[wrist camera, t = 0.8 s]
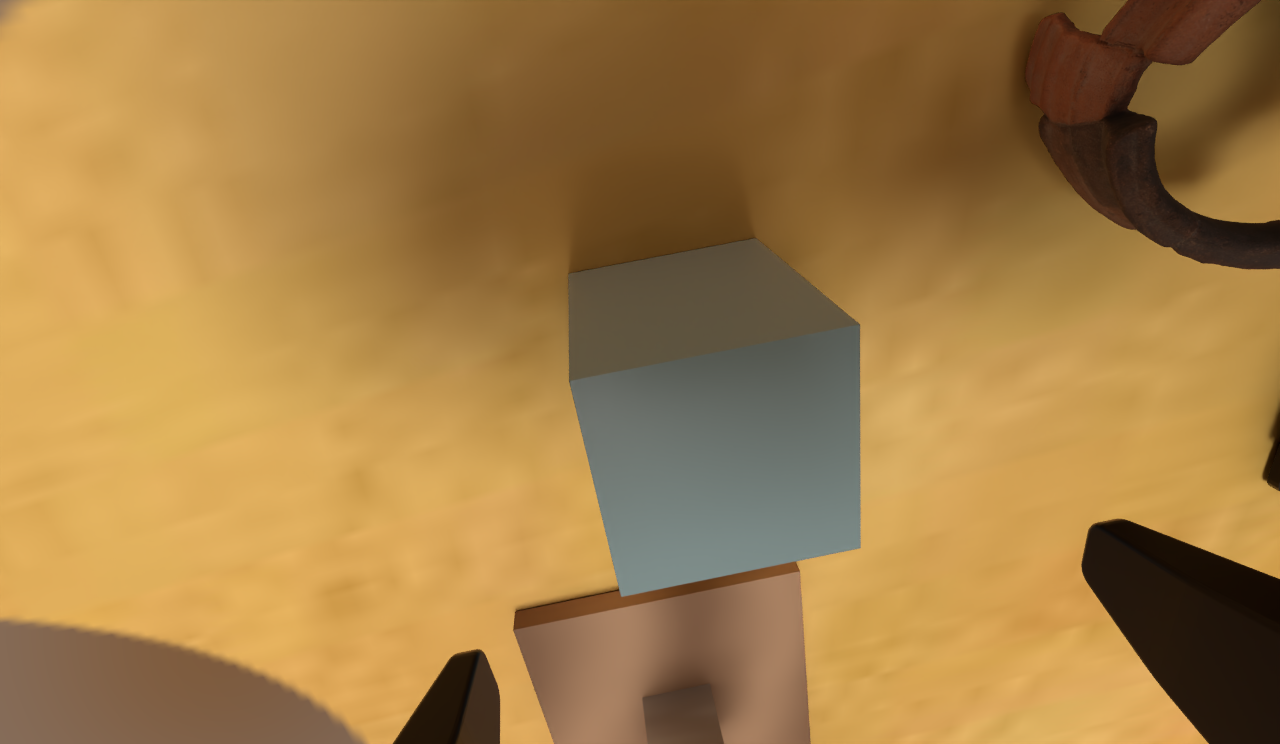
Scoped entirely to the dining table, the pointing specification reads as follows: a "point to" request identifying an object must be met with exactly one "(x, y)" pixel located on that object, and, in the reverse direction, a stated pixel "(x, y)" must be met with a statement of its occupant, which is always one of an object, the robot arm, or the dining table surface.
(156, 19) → the dining table surface
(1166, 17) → the brown looped piece
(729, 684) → the stand
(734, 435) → the grey-blue rectangular block
